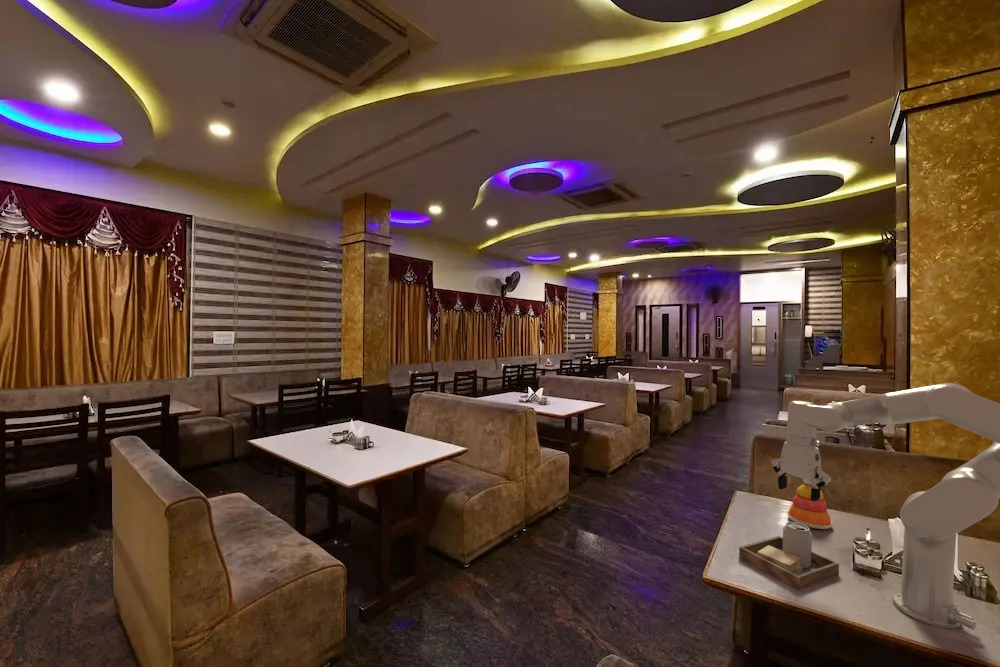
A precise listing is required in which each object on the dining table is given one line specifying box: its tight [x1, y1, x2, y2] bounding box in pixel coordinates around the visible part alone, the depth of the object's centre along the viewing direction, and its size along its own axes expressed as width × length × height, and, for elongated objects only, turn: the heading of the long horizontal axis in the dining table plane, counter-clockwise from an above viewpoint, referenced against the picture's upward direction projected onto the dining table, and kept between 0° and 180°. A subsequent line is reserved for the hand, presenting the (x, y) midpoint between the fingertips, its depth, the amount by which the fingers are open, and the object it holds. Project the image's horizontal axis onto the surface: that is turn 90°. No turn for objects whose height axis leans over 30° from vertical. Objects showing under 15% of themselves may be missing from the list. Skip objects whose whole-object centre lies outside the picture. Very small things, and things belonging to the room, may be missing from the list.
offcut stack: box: [757, 545, 803, 576], centre depth 130 cm, size 10×9×4 cm
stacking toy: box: [786, 478, 834, 530], centre depth 163 cm, size 14×14×20 cm
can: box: [781, 521, 813, 569], centre depth 134 cm, size 8×8×12 cm
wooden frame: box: [738, 535, 840, 591], centre depth 132 cm, size 18×20×4 cm
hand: (798, 494), depth 134 cm, fingers open, 9 cm apart
